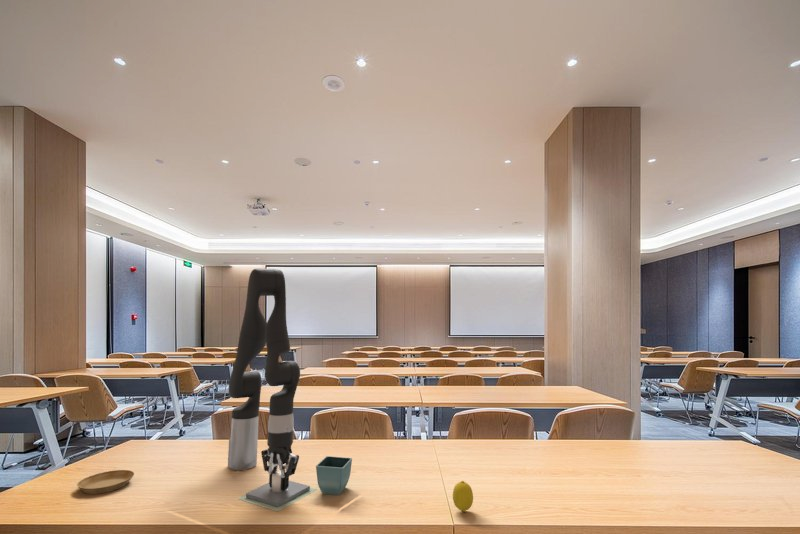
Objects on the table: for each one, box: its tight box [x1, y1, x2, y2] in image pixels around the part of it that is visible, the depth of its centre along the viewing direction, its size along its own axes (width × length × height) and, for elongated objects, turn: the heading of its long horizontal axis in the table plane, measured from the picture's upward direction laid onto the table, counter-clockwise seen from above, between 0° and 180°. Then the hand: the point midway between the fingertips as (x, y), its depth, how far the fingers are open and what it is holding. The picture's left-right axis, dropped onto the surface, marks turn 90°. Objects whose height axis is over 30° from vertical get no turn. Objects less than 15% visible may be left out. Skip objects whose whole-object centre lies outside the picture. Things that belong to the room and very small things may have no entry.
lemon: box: [452, 480, 474, 513], centre depth 109 cm, size 6×6×8 cm
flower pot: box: [315, 455, 353, 496], centre depth 122 cm, size 9×9×9 cm
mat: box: [238, 487, 318, 512], centre depth 119 cm, size 16×16×1 cm
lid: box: [245, 471, 311, 507], centre depth 119 cm, size 13×13×5 cm
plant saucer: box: [76, 469, 135, 495], centre depth 127 cm, size 15×15×3 cm
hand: (278, 487), depth 119 cm, fingers closed on lid, 4 cm apart
